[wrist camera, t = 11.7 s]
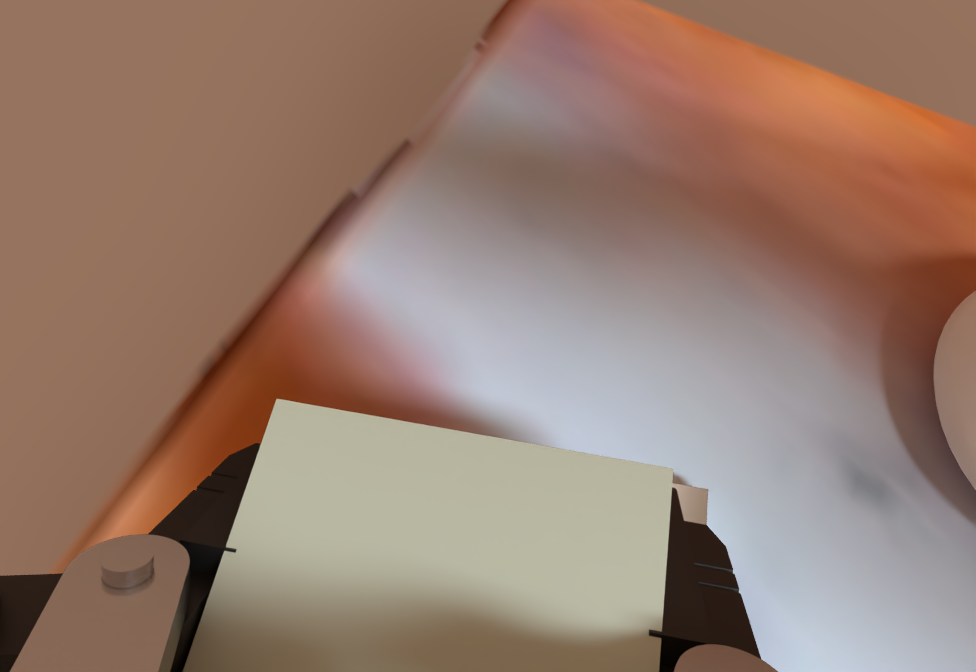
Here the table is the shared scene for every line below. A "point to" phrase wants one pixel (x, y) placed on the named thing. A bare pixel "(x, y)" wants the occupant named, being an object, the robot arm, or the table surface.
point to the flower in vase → (958, 384)
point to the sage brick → (435, 554)
